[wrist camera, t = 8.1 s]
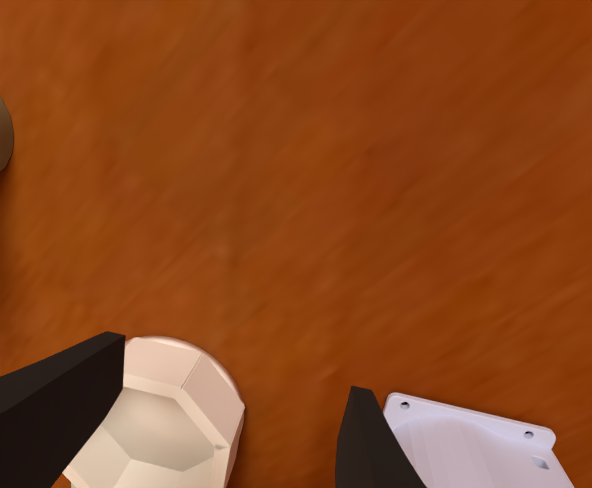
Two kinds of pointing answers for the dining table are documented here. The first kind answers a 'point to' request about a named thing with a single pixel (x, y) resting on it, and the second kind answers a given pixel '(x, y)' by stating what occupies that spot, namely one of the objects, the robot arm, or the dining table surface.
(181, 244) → the dining table surface
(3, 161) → the olive brown shaker
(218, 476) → the bowl
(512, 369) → the dining table surface
